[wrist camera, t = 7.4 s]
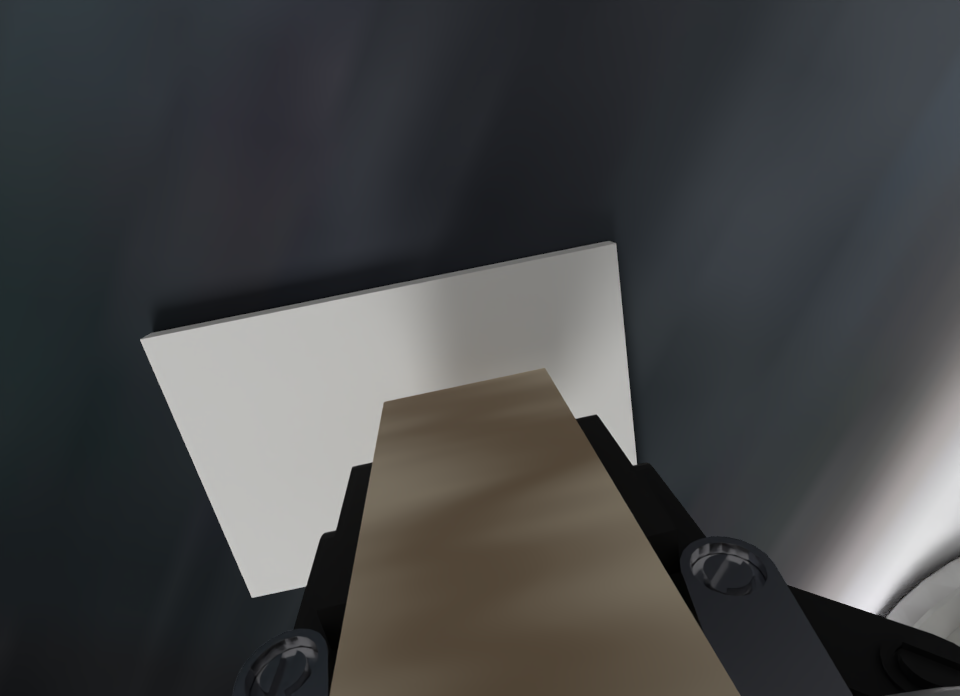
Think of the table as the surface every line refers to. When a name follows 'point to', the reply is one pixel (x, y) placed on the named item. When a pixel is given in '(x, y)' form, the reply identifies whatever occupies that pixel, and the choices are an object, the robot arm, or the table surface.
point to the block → (508, 561)
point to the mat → (374, 385)
